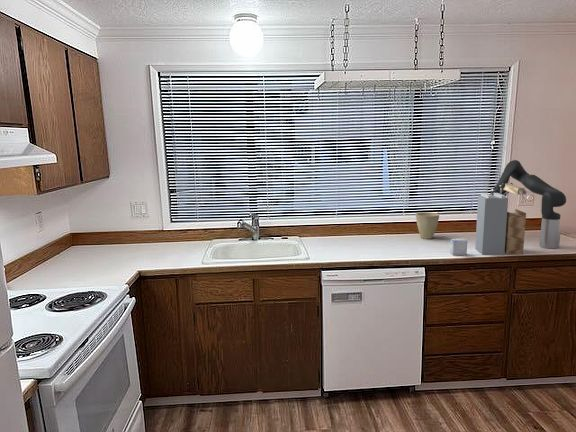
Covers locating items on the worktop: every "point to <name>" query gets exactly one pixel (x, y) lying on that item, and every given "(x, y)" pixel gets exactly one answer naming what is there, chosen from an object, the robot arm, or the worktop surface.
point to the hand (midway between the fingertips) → (508, 184)
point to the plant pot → (427, 224)
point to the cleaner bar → (514, 189)
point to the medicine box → (458, 247)
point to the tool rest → (515, 232)
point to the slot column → (491, 223)
